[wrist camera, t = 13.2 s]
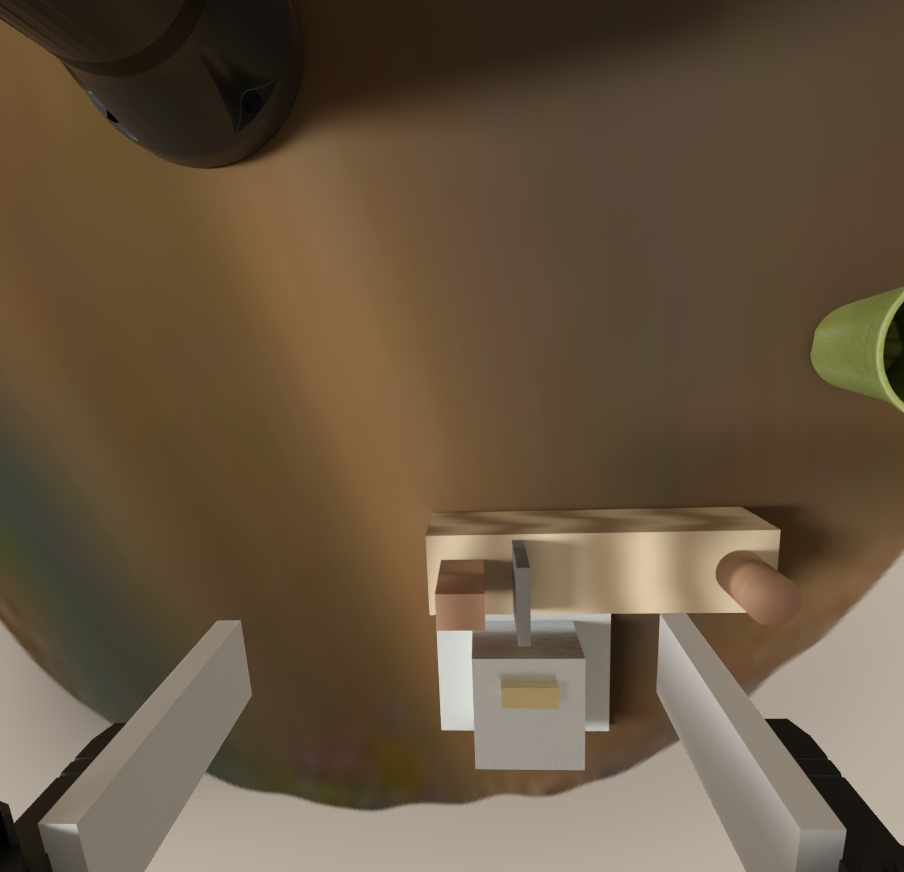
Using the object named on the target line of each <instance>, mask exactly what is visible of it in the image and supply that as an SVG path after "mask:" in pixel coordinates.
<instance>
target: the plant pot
mask: <svg viewBox="0 0 904 872" xmlns="http://www.w3.org/2000/svg"><path fill="white" fill-rule="evenodd" d="M888 328H889V332H888V333H887V331H888ZM810 356H811V361H812V364H813V367H814V368H815V370H816V372H817V373H818V374H819V376H820V377H821V378H822V379H823V380H825V381H826V382H827V383H829V384H831V385H833V386H836V387H839V388H843V389H846V390H850V391H853V392H857V393H860V394H863V395H866V396H870V397H873V398H876V399H880V400H883V401H887V402H889V403H891V404H892V405H894V406H895V407H896V408H897V409H898V410H900V411H901V412H902V413H904V286H902V287H899V288H896V289H893V290H890V291H887V292H884V293H881V294H878V295H875V296H871V297H868V298H865V299H862V300H858V301H855V302H853V303H850V304H847V305H844V306H841V307H839V308H837V309H835V310H834V311H832V312H831V313H829V314H828V315H827V316H826V317H825V318H824V319H823V320H822V321H821V323H820V324H819V325H818V327H817V328H816V330H815V333H814V340H813V345H812V349H811V353H810Z"/></svg>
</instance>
